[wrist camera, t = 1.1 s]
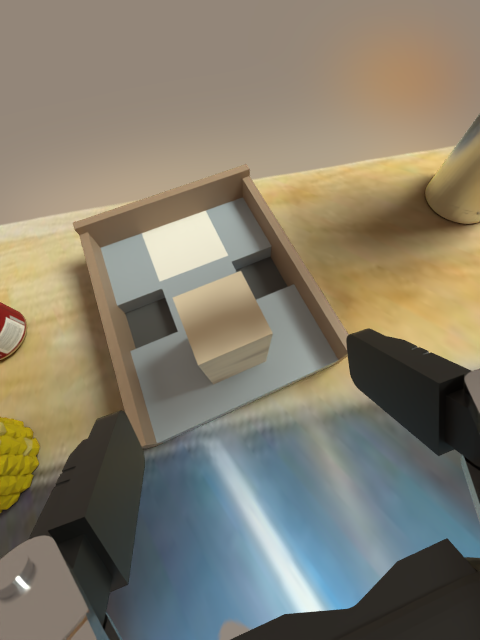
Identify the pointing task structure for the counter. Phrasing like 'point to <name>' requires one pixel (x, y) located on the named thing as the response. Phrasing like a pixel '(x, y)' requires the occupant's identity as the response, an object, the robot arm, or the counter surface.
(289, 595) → the counter surface
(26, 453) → the food
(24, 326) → the soda can
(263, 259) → the tray
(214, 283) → the birch block
